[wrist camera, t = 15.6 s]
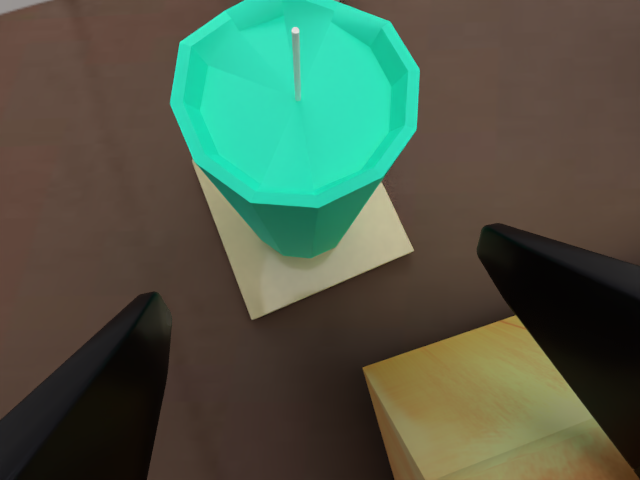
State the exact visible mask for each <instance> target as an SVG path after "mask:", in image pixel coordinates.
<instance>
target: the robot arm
mask: <svg viewBox="0 0 640 480" xmlns="http://www.w3.org/2000/svg"><path fill="white" fill-rule="evenodd" d="M477 255H478V257H479V259H480V261H481V262H482V264H483V265H484V267H485V269H486V270H487V272H488V274H489V275H490V277H491V279H492V280H493V282H494V284H495V285H496V287H497V289H498V290H499V292H500V294H501V295H502V297H503V298H504V300H505V301H506V303H507V304H508V305H509V307H510V308H511V309H512V311H513V312H514V313H515V315H516V316H517V317H518V319H519V320H520V321H521V323H522V324H523V325H524V327H525V328H526V329H527V331H528V332H529V333H530V335H531V336H532V337H533V339H534V340H535V341H536V343H537V344H538V345H539V347H540V348H541V349H542V350H543V352H544V353H545V354H546V356H547V357H548V358H549V360H550V361H551V362H552V364H553V365H554V366H555V368H556V369H557V370H558V372H559V373H560V374H561V376H562V377H563V378H564V380H565V381H566V382H567V384H568V385H569V386H570V387H571V389H572V390H573V391H574V393H575V394H576V395H577V397H578V398H579V399H580V401H581V402H582V403H583V405H584V406H585V407H586V409H587V410H588V411H589V413H590V414H591V415H592V417H593V418H594V419H595V421H596V422H597V423H598V425H599V426H600V427H601V428H602V430H603V431H604V432H605V434H606V435H607V436H608V438H609V439H610V440H611V442H612V443H613V444H614V446H615V447H616V448H617V450H618V451H619V452H620V454H621V455H622V456H623V458H624V459H625V460H626V462H627V463H628V464H629V465H630V467H631V468H632V469H634V470H633V471H634V472H635V474H636V475H637V476H638V478H639V479H640V266H638V265H634V264H631V263H628V262H625V261H621V260H618V259H615V258H612V257H608V256H605V255H602V254H598V253H595V252H592V251H589V250H585V249H582V248H579V247H576V246H572V245H569V244H566V243H563V242H559V241H556V240H553V239H549V238H546V237H543V236H540V235H536V234H533V233H530V232H527V231H523V230H520V229H517V228H514V227H510V226H507V225H504V224H500V223H495V224H490V225H486V226H484V227H483V228H482V230H481V234H480V238H479V242H478V246H477ZM171 327H172V316H171V312H170V310H169V309H168V307H167V305H166V304H165V302H164V300H163V299H162V297H161V295H160V294H159V293H158V292H149V293H144V294H140V295H139V296H137V297H136V298H135V299H134V300H133V301H132V302H131V303H129V304H128V305H127V306H126V307H125V308H124V309H123V310H122V311H121V312H120V313H118V314H117V315H116V316H115V317H114V318H113V319H112V320H111V321H110V322H108V323H107V324H106V325H105V326H104V327H103V328H102V329H101V330H100V331H99V332H97V333H96V334H95V335H94V336H93V337H92V338H91V339H90V340H89V341H87V342H86V343H85V344H84V345H83V346H82V347H81V348H80V349H79V350H77V351H76V352H75V353H74V354H73V355H72V356H71V357H70V358H69V359H68V360H66V361H65V362H64V363H63V364H62V365H61V366H60V367H59V368H58V369H56V370H55V371H54V372H53V373H52V374H51V375H50V376H49V377H48V378H46V379H45V380H44V381H43V382H42V383H41V384H40V385H39V386H38V387H37V388H35V389H34V390H33V391H32V392H31V393H30V394H29V395H28V396H27V397H25V398H24V399H23V400H22V401H21V402H20V403H19V404H18V405H17V406H15V407H14V408H13V409H12V410H11V411H10V412H9V413H8V414H7V415H6V416H4V417H3V418H2V419H1V420H0V480H147V476H148V471H149V466H150V461H151V456H152V451H153V446H154V441H155V436H156V431H157V426H158V421H159V416H160V411H161V406H162V401H163V396H164V391H165V386H166V380H167V374H168V364H169V352H170V340H171Z"/></svg>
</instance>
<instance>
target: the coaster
mask: <svg viewBox="0 0 640 480" xmlns="http://www.w3.org/2000/svg"><path fill="white" fill-rule="evenodd" d="M192 163H193V166H194V168H195V171H196V174H197V176H198V179H199V182H200V184H201V187H202V190H203V192H204V195H205V198H206V200H207V203H208V206H209V208H210V211H211V214H212V216H213V219H214V222H215V224H216V227H217V230H218V232H219V235H220V238H221V240H222V243H223V246H224V248H225V251H226V254H227V256H228V259H229V262H230V264H231V267H232V270H233V272H234V275H235V278H236V280H237V283H238V286H239V288H240V291H241V293H242V296H243V299H244V301H245V304H246V307H247V309H248V312H249V315H250V317H251V320H255V319H257V318H260V317H262V316H264V315H267V314H269V313H271V312H274V311H276V310H278V309H281V308H283V307H285V306H288V305H290V304H292V303H295V302H297V301H299V300H302V299H304V298H306V297H309V296H311V295H313V294H316V293H318V292H320V291H323V290H325V289H327V288H330V287H332V286H334V285H337V284H339V283H341V282H344V281H346V280H348V279H351V278H353V277H355V276H358V275H360V274H362V273H365V272H367V271H369V270H372V269H374V268H376V267H379V266H381V265H383V264H386V263H388V262H390V261H393V260H395V259H397V258H400V257H402V256H404V255H407V254H409V253H411V252H413V251H414V249H413V247H412V245H411V243H410V241H409V239H408V237H407V234H406V232H405V230H404V228H403V226H402V224H401V222H400V220H399V217H398V215H397V213H396V211H395V209H394V207H393V205H392V203H391V200H390V198H389V196H388V194H387V192H386V190H385V188H384V186H383V184H382V181H381V182H380V184H379V185H378V187H377V188H376V190H375V191H374V193H373V194H372V196H371V197H370V198H369V200H368V201H367V203H366V204H365V206H364V207H363V209H362V210H361V212H360V213H359V214H358V216H357V217H356V219H355V220H354V222H353V223H352V225H351V226H350V228H349V229H348V230H347V232H346V233H345V235H344V236H343V237H342V239H341V240H340V242H339V243H338V245H337V246H336V247H335V248H333V249H331V250H329V251H326V252H324V253H322V254H320V255H317V256H315V257H313V258H300V257H290V256H283V255H281V254H280V253H279V252H277V251H276V250H275V249H273V248H272V247H270V246H269V245H268V244H266V243H265V242H263V241H262V240H261V239H260V238H259V237H258V236H257V234H256V233H255V232H254V231H253V230H252V229H251V227H250V226H249V225H248V224H247V223H246V222H245V220H244V219H243V218H242V217H241V216H240V215H239V213H238V212H237V211H236V210H235V209H234V208H233V206H232V205H231V204H230V203H229V202H228V201H227V199H226V198H225V197H224V196H223V195H222V194H221V192H220V191H219V190H218V189H217V188H216V187H215V185H214V184H213V183H212V182H211V181H210V180H209V178H208V177H207V176H206V175H205V174H204V173H203V171H202V170H201V169H200V168H199V167H198V166H197V164H196V163H195V162H194V160H192Z"/></svg>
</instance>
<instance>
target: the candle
mask: <svg viewBox="0 0 640 480" xmlns="http://www.w3.org/2000/svg"><path fill="white" fill-rule="evenodd" d="M419 76H420V69H419V68H418V66H417V64H416V63H415V61H414V59H413V58H412V56H411V55H410V53H409V51H408V50H407V48H406V46H405V45H404V43H403V42H402V40H401V38H400V37H399V35H398V33H397V32H396V30H395V29H394V27H393V25H392V24H391V22H390V21H387V20H385V19H382V18H379V17H377V16H374V15H371V14H369V13H366V12H363V11H361V10H358V9H355V8H353V7H350V6H347V5H345V4H342V3H340V2H337V1H334V0H244V1H242V2H240V3H239V4H237V5H235V6H233V7H231V8H229V9H227V10H225V11H224V12H222V13H221V14H219V15H218V16H216V17H215V18H214V19H212V20H211V21H209V22H208V23H206V24H205V25H204V26H202V27H201V28H199V29H198V30H197V31H195V32H194V33H192V34H191V35H189V36H188V37H187V38H185V39H184V40H182V41H181V42H180V44H179V50H178V56H177V63H176V69H175V75H174V81H173V88H172V94H171V100H170V105H171V107H172V110H173V112H174V115H175V117H176V119H177V122H178V124H179V126H180V129H181V131H182V134H183V136H184V138H185V141H186V143H187V145H188V148H189V150H190V153H191V155H192V157H193V160H194V162H195V163H196V164H197V166H198V167H199V168H200V169H201V170H202V171H203V173H204V174H205V175H206V176H207V177H208V178H209V180H210V181H211V182H212V183H213V184H214V185H215V187H216V188H217V189H218V190H219V191H220V192H221V194H222V195H223V196H224V197H225V198H226V199H227V201H228V202H229V203H230V204H231V205H232V206H233V208H234V209H235V210H236V211H237V212H238V213H239V215H240V216H241V217H242V218H243V219H244V220H245V222H246V223H247V224H248V225H249V226H250V227H251V229H252V230H253V231H254V232H255V233H256V234H257V236H258V237H259V238H260V239H261V240H262V241H263V242H265V243H266V244H268V245H269V246H270V247H272V248H273V249H275V250H276V251H277V252H279V253H280V254H281V255H283V256H290V257H300V258H313V257H315V256H317V255H320V254H322V253H324V252H326V251H329V250H331V249H333V248H335V247H336V246H337V245H338V243H339V242H340V240H341V239H342V237H343V236H344V235H345V233H346V232H347V230H348V229H349V228H350V226H351V225H352V223H353V222H354V220H355V219H356V217H357V216H358V214H359V213H360V212H361V210H362V209H363V207H364V206H365V204H366V203H367V201H368V200H369V198H370V197H371V196H372V194H373V193H374V191H375V190H376V188H377V187H378V185H379V184H380V182H381V181H382V179H383V178H384V177H385V175H386V174H387V172H388V171H389V169H390V168H391V166H392V165H393V163H394V162H395V160H396V159H397V158H398V156H399V155H400V153H401V152H402V150H403V149H404V147H405V146H406V144H407V143H408V141H409V140H410V139H411V137H412V136H413V134H414V133H415V131H416V130H417V113H418V95H419Z"/></svg>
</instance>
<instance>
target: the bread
mask: <svg viewBox="0 0 640 480" xmlns="http://www.w3.org/2000/svg"><path fill="white" fill-rule="evenodd" d="M362 368H363V372H364V375H365V378H366V382H367V385H368V389H369V392H370V396H371V399H372V403H373V406H374V410H375V413H376V417H377V420H378V424H379V427H380V431H381V434H382V438H383V441H384V445H385V448H386V452H387V455H388V459H389V462H390V465H391V469H392V472H393V476H394V479H395V480H640V479H639V478H638V476H637V475H636V474H635V472H634V471H633V470H634V469H632V468H631V467H630V465H629V464H628V463H627V462H626V460H625V459H624V458H623V456H622V455H621V454H620V452H619V451H618V450H617V448H616V447H615V446H614V444H613V443H612V442H611V440H610V439H609V438H608V436H607V435H606V434H605V432H604V431H603V430H602V428H601V427H600V426H599V425H598V423H597V422H596V421H595V419H594V418H593V417H592V415H591V414H590V413H589V411H588V410H587V409H586V407H585V406H584V405H583V403H582V402H581V401H580V399H579V398H578V397H577V395H576V394H575V393H574V391H573V390H572V389H571V387H570V386H569V385H568V384H567V382H566V381H565V380H564V378H563V377H562V376H561V374H560V373H559V372H558V370H557V369H556V368H555V366H554V365H553V364H552V362H551V361H550V360H549V358H548V357H547V356H546V354H545V353H544V352H543V350H542V349H541V348H540V347H539V345H538V344H537V343H536V341H535V340H534V339H533V337H532V336H531V335H530V333H529V332H528V331H527V329H526V328H525V327H524V325H523V324H522V323H521V321H520V320H519V319H518V317H517V316H516V315H515V316H512V317H509V318H506V319H503V320H500V321H498V322H495V323H492V324H489V325H486V326H483V327H480V328H477V329H474V330H471V331H468V332H465V333H462V334H459V335H456V336H453V337H450V338H448V339H445V340H442V341H439V342H436V343H433V344H430V345H427V346H424V347H421V348H418V349H415V350H412V351H409V352H406V353H403V354H400V355H397V356H395V357H392V358H389V359H386V360H383V361H380V362H377V363H374V364H371V365H368V366H365V367H362Z"/></svg>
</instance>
